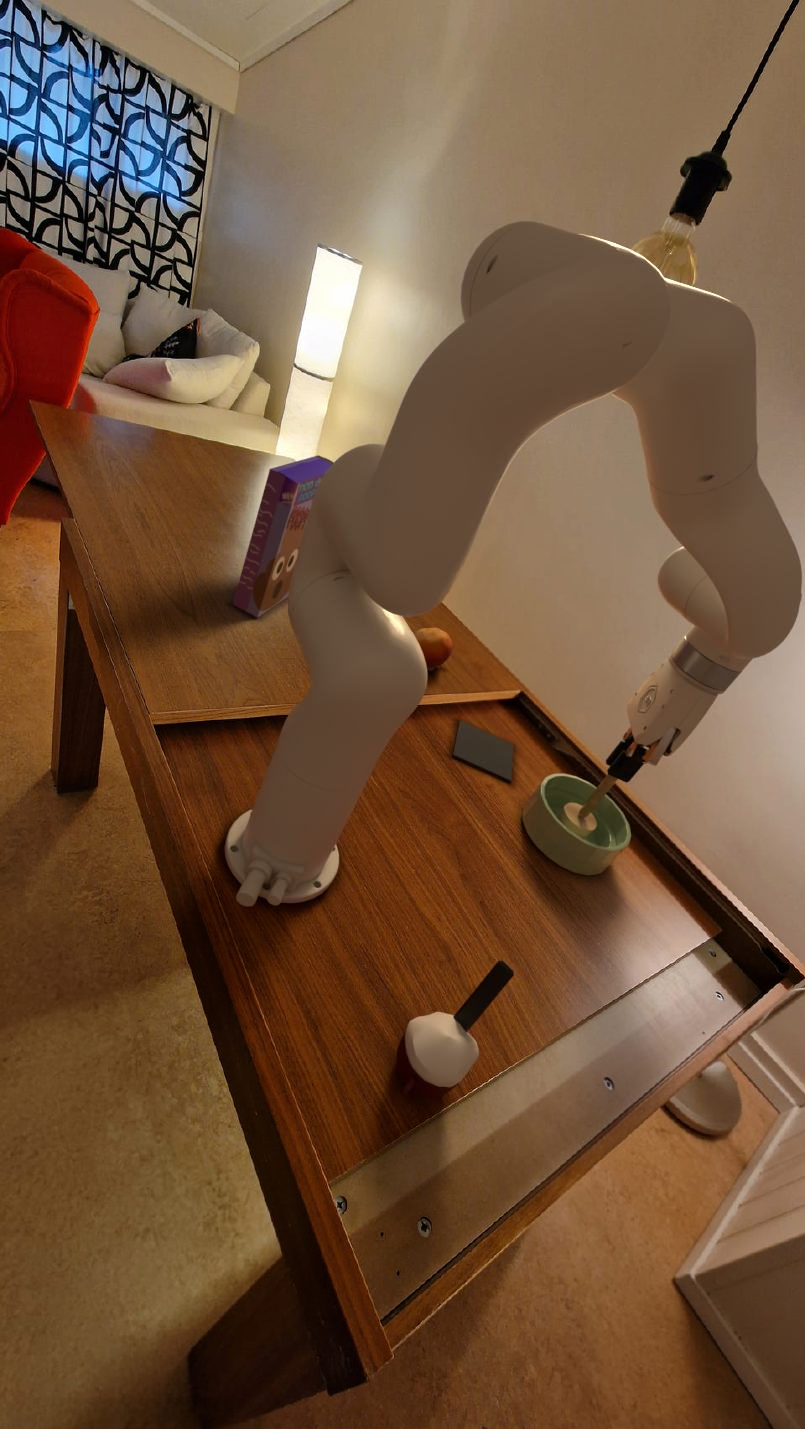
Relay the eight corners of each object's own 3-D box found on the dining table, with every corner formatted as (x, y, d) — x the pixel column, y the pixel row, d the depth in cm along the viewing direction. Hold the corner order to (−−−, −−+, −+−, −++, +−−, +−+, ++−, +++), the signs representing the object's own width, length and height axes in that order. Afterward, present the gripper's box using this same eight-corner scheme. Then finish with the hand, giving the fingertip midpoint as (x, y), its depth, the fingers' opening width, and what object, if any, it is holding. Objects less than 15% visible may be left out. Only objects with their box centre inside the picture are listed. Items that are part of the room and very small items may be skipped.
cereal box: (257, 618, 104) (298, 482, 91) (232, 605, 104) (270, 467, 91) (302, 588, 119) (343, 467, 106) (280, 576, 119) (318, 454, 106)
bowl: (611, 893, 86) (637, 866, 83) (519, 851, 85) (541, 823, 82) (602, 824, 98) (624, 798, 94) (521, 787, 97) (540, 760, 93)
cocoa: (396, 1124, 52) (457, 1061, 46) (365, 1050, 56) (418, 981, 49) (480, 1083, 58) (545, 1022, 51) (447, 1018, 62) (504, 953, 55)
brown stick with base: (590, 844, 88) (661, 762, 79) (557, 830, 88) (625, 745, 79) (588, 820, 92) (655, 739, 83) (557, 806, 92) (620, 723, 83)
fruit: (441, 679, 110) (439, 634, 107) (402, 675, 114) (399, 633, 111) (460, 666, 116) (458, 624, 114) (423, 663, 120) (420, 622, 117)
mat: (510, 782, 97) (511, 780, 96) (452, 756, 96) (453, 754, 96) (512, 746, 105) (513, 744, 105) (458, 721, 104) (459, 719, 104)
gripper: (664, 624, 80) (587, 729, 90) (688, 683, 67) (595, 797, 77) (715, 649, 81) (633, 750, 91) (749, 711, 68) (649, 822, 78)
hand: (616, 771), depth 84 cm, fingers closed on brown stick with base, 1 cm apart
